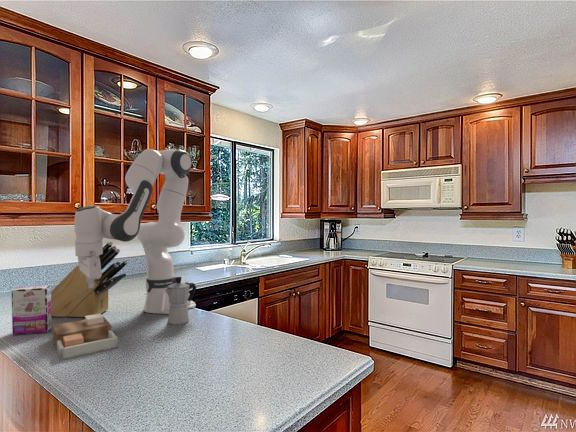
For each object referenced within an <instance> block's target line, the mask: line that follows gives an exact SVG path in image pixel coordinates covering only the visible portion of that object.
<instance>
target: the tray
mask: <svg viewBox="0 0 576 432" xmlns="http://www.w3.org/2000/svg"><path fill="white" fill-rule="evenodd" d="M114 347H117V348H119V338H118V336H117V335H116V334H115V333H114V332H113V330H112V329H111V330H109V331H108V338H106V339H102V340H97V341H92V342H87V343H84V344H79V345H74V346H69V347H65V348H64V347H63V344H62V342H61V340H57V349H56V353H57V354H58V357H59V359H60V361H62V360H66V359H71V358H76V357H80V356H84V355H89V354H94V353H98V352H97V351H99V352H102V351H101V350H104V351H107V350H106V349H108V350H111V349H110V348H113V349H115V348H114ZM93 352H94V353H93Z"/></svg>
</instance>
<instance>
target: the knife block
mask: <svg viewBox="0 0 576 432" xmlns="http://www.w3.org/2000/svg"><path fill="white" fill-rule="evenodd" d="M120 252H121V249H120V248H117V246H116V245H113V242H112V241H107V243H106V244H105V245H104V246H103V254H101V255H99V258H100V264H101V278H100V279H95V280H94V288H88V287H87V281H86V276H85V275H84V274H83V273H82V272H81V271H80V269H79V264H78V265H76V266H74V268H73V269H72V270H71V271H70V272H69V273H68V274H67V275H66V276H65V277H63V279H62V280H61V281H60V282H59V283H58V284H57V285H56V286H55V287H54V288H53V289H51V308H52V317H63V318H64V317H75V318H77V317H78V318H85V316H88V315H94V314H101V315H102V313H104V312H107V311H108V310H109V290H110V289H112V287H114V286H116V284H118V283H119V282H120V281H121V280H122V279H124V278H126V276H127V273H122V274H119V275H117V274H118V273H119V272H120V271H121V270H122V269H124V268H125V266H126V265H128V261H127V260H123V261H122V262H120V261H117V262H113V263H112V264H111V265H109V264H110V263H111V262H112V261H113V260H114V259H115V258H116V257H117V256H118V254H119V253H120ZM108 265H109V266H108ZM107 266H108V267H107ZM106 267H107V268H106ZM105 268H106V269H105ZM103 269H105V270H103ZM116 275H117V276H116Z"/></svg>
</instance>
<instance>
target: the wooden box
mask: <svg viewBox="0 0 576 432" xmlns="http://www.w3.org/2000/svg"><path fill="white" fill-rule="evenodd" d="M102 316H103V315H102ZM103 317H104V322H103V323H98V324H92V325H87V324H86V322H85V319H81V320H75V321H69V322H63V323H62V322H61V323H57V324H52V341H53V343H54V346H55V348H56V350H57V340H61V342H62V344H63V337H64V336H69V335H75V334H80V333H81V334H82V336H83V338H84V343H87V342H92V341H97V340H102V339H106V338H108V331H109V330H112V324H111V323H110V322H109V321H108V320H107V319H106V318H105V316H103Z"/></svg>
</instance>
